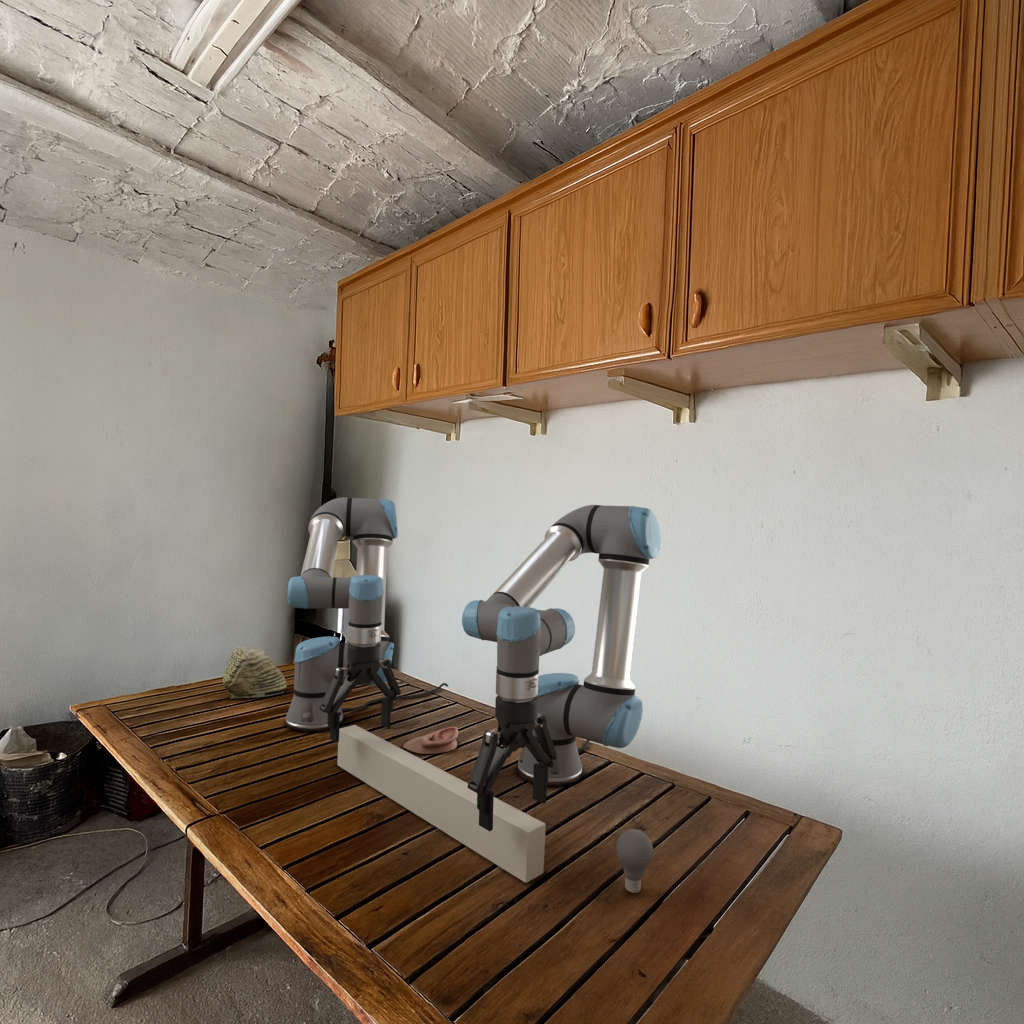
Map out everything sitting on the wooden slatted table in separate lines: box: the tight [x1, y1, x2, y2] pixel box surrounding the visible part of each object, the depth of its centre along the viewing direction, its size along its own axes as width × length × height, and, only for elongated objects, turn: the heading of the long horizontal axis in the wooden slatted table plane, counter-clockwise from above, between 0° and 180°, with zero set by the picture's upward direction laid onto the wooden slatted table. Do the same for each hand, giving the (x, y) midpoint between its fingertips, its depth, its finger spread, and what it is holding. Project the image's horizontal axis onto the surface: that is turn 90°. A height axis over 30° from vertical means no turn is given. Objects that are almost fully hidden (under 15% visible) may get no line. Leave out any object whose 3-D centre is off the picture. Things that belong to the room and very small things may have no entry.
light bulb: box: [615, 828, 654, 894], centre depth 106 cm, size 6×6×10 cm
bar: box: [336, 724, 546, 884], centre depth 130 cm, size 61×4×9 cm, turn 46°
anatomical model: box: [402, 726, 459, 755], centre depth 163 cm, size 13×4×12 cm
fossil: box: [222, 646, 288, 699], centre depth 198 cm, size 9×18×15 cm, turn 132°
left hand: (360, 733), depth 147 cm, fingers open, 13 cm apart
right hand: (513, 813), depth 113 cm, fingers open, 13 cm apart
